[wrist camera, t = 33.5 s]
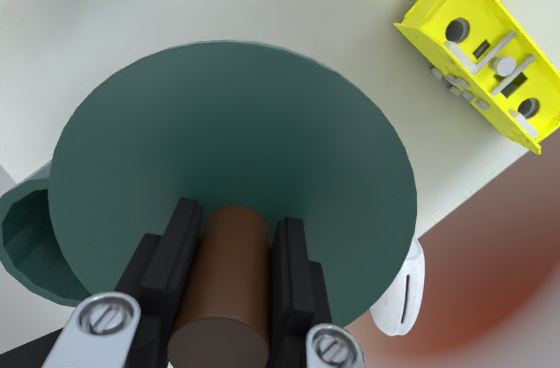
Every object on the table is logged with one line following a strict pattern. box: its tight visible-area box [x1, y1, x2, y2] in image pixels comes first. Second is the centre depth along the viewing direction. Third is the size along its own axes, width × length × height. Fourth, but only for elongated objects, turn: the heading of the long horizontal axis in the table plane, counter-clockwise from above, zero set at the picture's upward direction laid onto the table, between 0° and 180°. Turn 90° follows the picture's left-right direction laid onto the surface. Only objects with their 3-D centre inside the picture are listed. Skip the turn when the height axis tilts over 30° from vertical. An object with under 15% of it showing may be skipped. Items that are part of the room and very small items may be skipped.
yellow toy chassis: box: [393, 0, 560, 155], centre depth 31 cm, size 16×6×8 cm, turn 51°
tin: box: [0, 160, 93, 307], centre depth 32 cm, size 12×12×14 cm
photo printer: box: [370, 235, 425, 336], centre depth 37 cm, size 10×4×12 cm, turn 3°
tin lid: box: [48, 40, 417, 368], centre depth 11 cm, size 13×13×6 cm
